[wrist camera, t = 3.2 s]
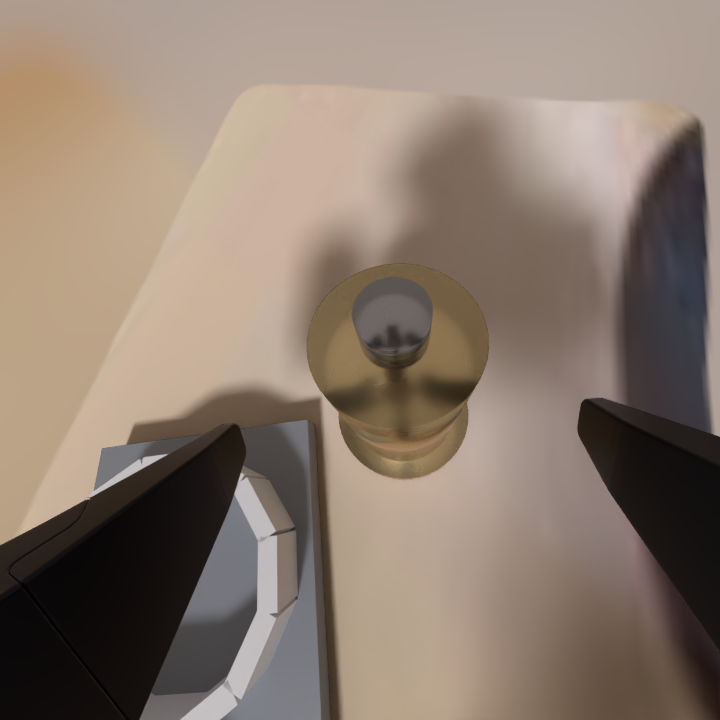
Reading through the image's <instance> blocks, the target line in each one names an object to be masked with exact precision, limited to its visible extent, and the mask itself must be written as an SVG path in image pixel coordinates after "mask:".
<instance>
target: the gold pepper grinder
mask: <svg viewBox="0 0 720 720" xmlns="http://www.w3.org/2000/svg"><path fill="white" fill-rule="evenodd" d="M488 350H489V335H488V330H487V325H486V322H485V319H484V316H483V314H482V312H481V310H480V308H479V306H478V304H477V303H476V301H475V300H474V298H473V297H472V296H471V295H470V294H469V292H468V291H467V290H466V289H465V288H464V287H462V286H461V285H460V284H459V283H458V282H456V281H455V280H453V279H452V278H450V277H449V276H447V275H445V274H443V273H441V272H439V271H436V270H433V269H431V268H428V267H424V266H419V265H413V264H388V265H381V266H376V267H373V268H369V269H366V270H363V271H361V272H359V273H357V274H355V275H353V276H351V277H349V278H348V279H346V280H344V281H343V282H342V283H340V284H339V285H338V286H336V287H335V288H334V289H333V290H332V291H331V292H330V293H329V294H328V295H327V296H326V298H325V299H324V300H323V301H322V303H321V304H320V306H319V307H318V309H317V311H316V313H315V315H314V317H313V319H312V322H311V325H310V328H309V332H308V338H307V357H308V363H309V367H310V371H311V373H312V376H313V378H314V381H315V382H316V384H317V386H318V387H319V389H320V391H321V392H322V393H323V394H324V396H325V397H326V398H327V399H328V401H329V402H330V403H331V404H332V405H333V407H334V408H335V409H336V410H337V411H338V412H339V424H340V429H341V433H342V435H343V438H344V440H345V442H346V444H347V446H348V448H349V449H350V451H351V452H352V453H353V455H354V456H355V457H356V458H357V459H358V460H359V461H360V462H361V463H363V464H364V465H365V466H367V467H368V468H369V469H371V470H373V471H374V472H376V473H378V474H380V475H383V476H385V477H389V478H393V479H402V480H404V479H416V478H421V477H424V476H427V475H429V474H431V473H433V472H435V471H437V470H438V469H440V468H441V467H443V466H444V465H445V464H446V463H447V462H448V461H449V460H450V459H451V458H452V457H453V456H454V455H455V453H456V452H457V451H458V449H459V447H460V446H461V444H462V442H463V439H464V437H465V434H466V430H467V425H468V407H467V401H468V399H469V397H470V396H471V394H472V392H473V390H474V389H475V387H476V385H477V384H478V382H479V380H480V378H481V376H482V374H483V371H484V369H485V366H486V362H487V358H488Z"/></svg>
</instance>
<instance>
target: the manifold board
mask: <svg viewBox="0 0 720 720" xmlns="http://www.w3.org/2000/svg"><path fill="white" fill-rule="evenodd" d="M240 430H241V433H242V436H243V439H244V442H245V446H246V458H245V461H244V464H243V468H242V471H241V474H240V477H239V481H238V484H237V487H236V490H235V494H234V497H233V500H232V503H231V506H230V508H229V511H228V513H227V516H226V518H225V520H224V523H223V525H222V527H221V530H220V532H219V534H218V537H217V539H216V542H215V544H214V546H213V549H212V551H211V553H210V556H209V558H208V560H207V563H206V565H205V567H204V570H203V572H202V574H201V577H200V579H199V581H198V584H197V586H196V588H195V591H194V593H193V595H192V598H191V600H190V603H189V605H188V607H187V610H186V612H185V614H184V617H183V619H182V621H181V624H180V626H179V628H178V631H177V633H176V635H175V638H174V640H173V642H172V645H171V647H170V649H169V652H168V654H167V656H166V659H165V661H164V664H163V666H162V668H161V671H160V673H159V675H158V678H157V680H156V682H155V685H154V687H153V689H152V692H151V694H150V696H149V699H148V701H147V703H146V706H145V708H144V710H143V713H142V715H141V718H140V720H331V715H330V696H329V678H328V659H327V641H326V622H325V603H324V585H323V566H322V548H321V529H320V511H319V492H318V473H317V455H316V436H315V425H314V424H313V423H312V422H310V421H309V420H308V419H307V420H300V421H292V422H285V423H278V424H271V425H264V426H257V427H250V428H243V429H240ZM202 435H204V434H200V435H193V436H186V437H179V438H172V439H165V440H157V441H150V442H143V443H136V444H129V445H122V446H115V447H108V448H102V451H101V457H100V462H99V467H98V472H97V477H96V482H95V487H94V491H93V492H92V493H91V494H90V496H91V497H92V496H94V495H96V494H97V493H99V492H101V491H103V490H105V489H106V488H108V487H110V486H112V485H114V484H115V483H117V482H119V481H121V480H123V479H124V478H126V477H128V476H130V475H132V474H134V473H135V472H137V471H139V470H141V469H143V468H144V467H146V466H148V465H150V464H152V463H153V462H155V461H157V460H159V459H161V458H162V457H164V456H166V455H168V454H170V453H171V452H173V451H175V450H177V449H179V448H180V447H182V446H184V445H186V444H188V443H189V442H191V441H193V440H195V439H197V438H198V437H200V436H202ZM91 497H87V498H86V499H85V500H87V499H89V500H90V498H91Z"/></svg>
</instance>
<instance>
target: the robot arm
mask: <svg viewBox="0 0 720 720" xmlns="http://www.w3.org/2000/svg"><path fill="white" fill-rule="evenodd" d="M577 429H578V435H579V437H580V439H581V441H582V443H583V445H584V447H585V448H586V450H587V452H588V454H589V456H590V458H591V460H592V461H593V463H594V465H595V467H596V469H597V471H598V472H599V474H600V476H601V478H602V480H603V482H604V483H605V485H606V487H607V489H608V490H609V492H610V493H611V495H612V496H613V498H614V499H615V501H616V502H617V504H618V505H619V507H620V508H621V510H622V511H623V513H624V514H625V515H626V517H627V518H628V520H629V521H630V523H631V524H632V526H633V527H634V529H635V530H636V531H637V533H638V534H639V536H640V537H641V539H642V540H643V542H644V543H645V545H646V546H647V548H648V549H649V550H650V552H651V553H652V555H653V556H654V558H655V559H656V561H657V562H658V564H659V565H660V566H661V568H662V569H663V571H664V572H665V574H666V575H667V577H668V578H669V580H670V581H671V582H672V584H673V585H674V587H675V588H676V590H677V591H678V593H679V594H680V596H681V597H682V598H683V600H684V601H685V603H686V604H687V606H688V607H689V609H690V610H691V612H692V613H693V614H694V616H695V617H696V619H697V620H698V622H699V623H700V625H701V626H702V628H703V629H704V631H705V632H706V633H707V635H708V636H709V638H710V639H711V641H712V642H713V644H714V645H715V647H716V648H717V649H718V651H719V652H720V437H718V436H716V435H713V434H710V433H707V432H704V431H701V430H698V429H695V428H692V427H689V426H686V425H683V424H680V423H677V422H674V421H671V420H668V419H665V418H662V417H659V416H656V415H653V414H650V413H646V412H643V411H640V410H637V409H634V408H631V407H628V406H625V405H622V404H619V403H616V402H613V401H610V400H607V399H604V398H591V399H585V400H583V401H582V403H581V406H580V413H579V420H578V427H577ZM245 458H246V446H245V442H244V439H243V436H242V433H241V430H240V427H239V426H238V425H237V424H235V423H233V424H222V425H220V426H218V427H217V428H215V429H213V430H211V431H209V432H208V433H206V434H204V435H202V436H200V437H198V438H197V439H195V440H193V441H191V442H189V443H188V444H186V445H184V446H182V447H180V448H179V449H177V450H175V451H173V452H171V453H170V454H168V455H166V456H164V457H162V458H161V459H159V460H157V461H155V462H153V463H152V464H150V465H148V466H146V467H144V468H143V469H141V470H139V471H137V472H135V473H134V474H132V475H130V476H128V477H126V478H124V479H123V480H121V481H119V482H117V483H115V484H114V485H112V486H110V487H108V488H106V489H105V490H103V491H101V492H99V493H97V494H96V495H94V496H92V497H91V498H90V500H89V499H87V500H85V501H83V502H81V503H79V504H77V505H76V506H74V507H72V508H70V509H68V510H67V511H65V512H63V513H61V514H59V515H57V516H55V517H54V518H52V519H50V520H48V521H46V522H44V523H42V524H41V525H39V526H37V527H35V528H33V529H31V530H29V531H27V532H25V533H23V534H21V535H19V536H17V537H15V538H14V539H12V540H10V541H8V542H6V543H4V544H2V545H0V720H140V718H141V715H142V713H143V710H144V708H145V706H146V703H147V701H148V699H149V696H150V694H151V692H152V689H153V687H154V685H155V682H156V680H157V678H158V675H159V673H160V671H161V668H162V666H163V664H164V661H165V659H166V656H167V654H168V652H169V649H170V647H171V645H172V642H173V640H174V638H175V635H176V633H177V631H178V628H179V626H180V624H181V621H182V619H183V617H184V614H185V612H186V610H187V607H188V605H189V603H190V600H191V598H192V595H193V593H194V591H195V588H196V586H197V584H198V581H199V579H200V577H201V574H202V572H203V570H204V567H205V565H206V563H207V560H208V558H209V556H210V553H211V551H212V549H213V546H214V544H215V542H216V539H217V537H218V534H219V532H220V530H221V527H222V525H223V523H224V520H225V518H226V516H227V513H228V511H229V508H230V506H231V503H232V500H233V497H234V494H235V490H236V487H237V484H238V481H239V477H240V474H241V471H242V468H243V464H244V461H245Z"/></svg>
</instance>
